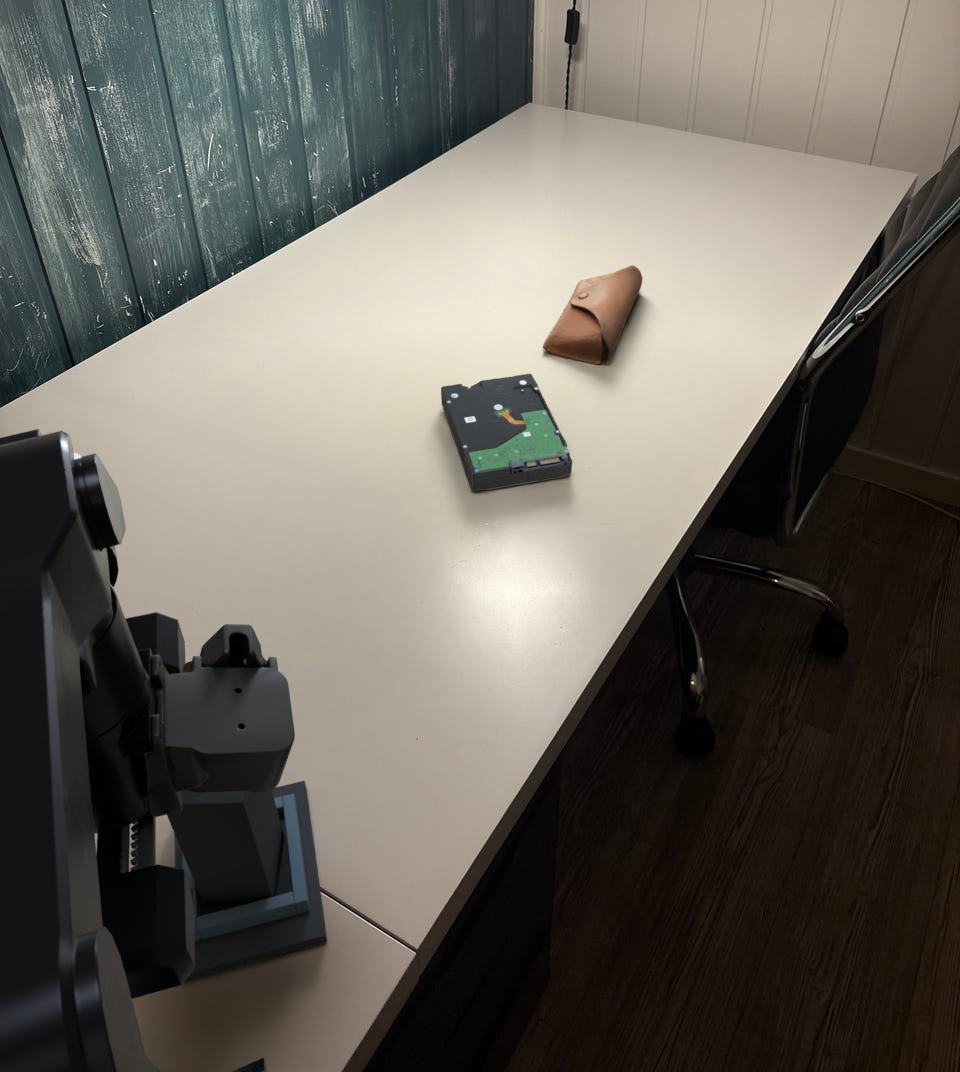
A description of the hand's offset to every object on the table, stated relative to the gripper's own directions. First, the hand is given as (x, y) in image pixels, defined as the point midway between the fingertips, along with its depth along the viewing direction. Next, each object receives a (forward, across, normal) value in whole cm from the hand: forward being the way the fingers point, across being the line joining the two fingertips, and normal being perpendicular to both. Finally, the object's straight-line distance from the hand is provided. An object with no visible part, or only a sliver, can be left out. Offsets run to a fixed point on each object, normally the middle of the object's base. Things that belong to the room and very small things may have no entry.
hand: (157, 871), depth 50 cm
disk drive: (+13, +45, -32) cm, 57 cm away
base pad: (+13, +6, -3) cm, 14 cm away
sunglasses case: (+13, +64, -49) cm, 82 cm away
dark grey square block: (+12, +6, -3) cm, 14 cm away
